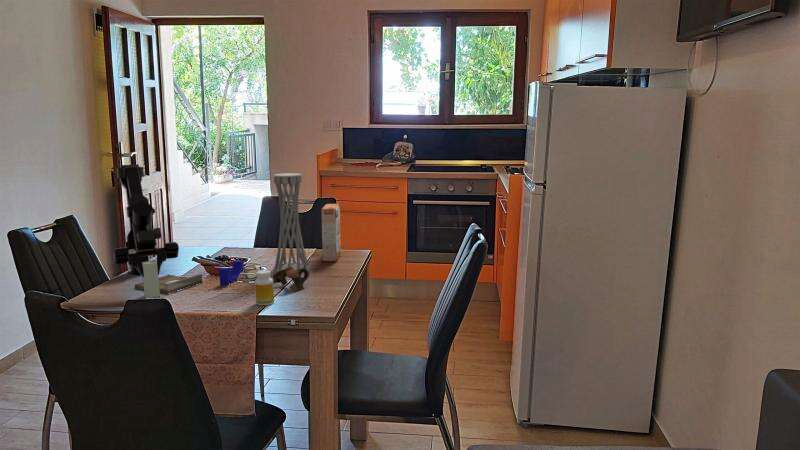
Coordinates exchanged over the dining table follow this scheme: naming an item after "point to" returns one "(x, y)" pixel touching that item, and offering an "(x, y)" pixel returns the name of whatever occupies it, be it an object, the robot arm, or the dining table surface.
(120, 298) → the dining table surface
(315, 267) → the dining table surface
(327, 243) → the cracker box
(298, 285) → the pottery mug
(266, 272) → the supplement bottle
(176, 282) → the walnut board
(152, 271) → the sage block
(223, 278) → the blue notched block
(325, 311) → the dining table surface
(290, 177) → the vase
